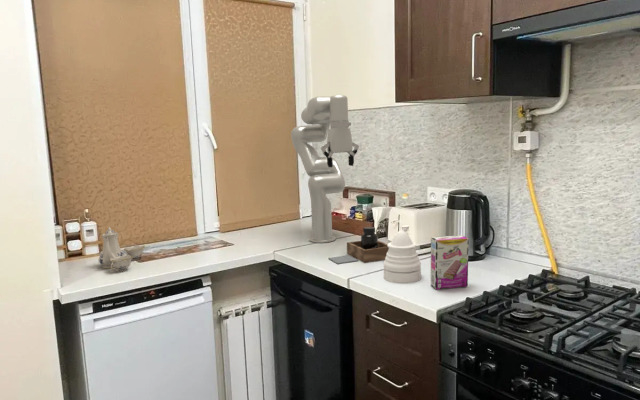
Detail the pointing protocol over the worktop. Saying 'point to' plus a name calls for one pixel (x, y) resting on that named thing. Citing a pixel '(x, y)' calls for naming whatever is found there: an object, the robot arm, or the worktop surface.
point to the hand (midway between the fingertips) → (340, 166)
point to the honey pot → (402, 259)
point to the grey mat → (343, 259)
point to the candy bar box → (449, 262)
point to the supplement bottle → (369, 238)
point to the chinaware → (117, 252)
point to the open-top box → (367, 252)
